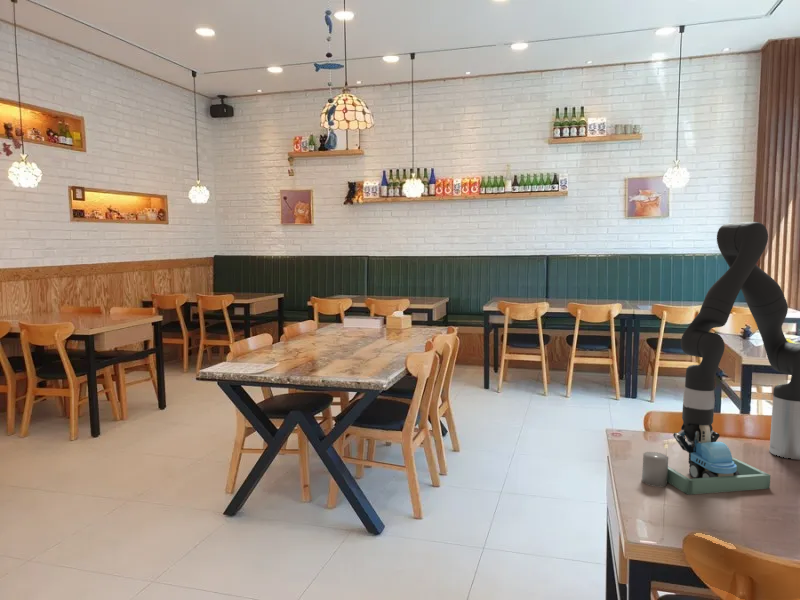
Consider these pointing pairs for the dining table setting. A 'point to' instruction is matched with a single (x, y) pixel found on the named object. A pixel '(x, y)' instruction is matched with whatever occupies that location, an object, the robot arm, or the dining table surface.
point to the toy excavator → (711, 458)
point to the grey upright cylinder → (655, 469)
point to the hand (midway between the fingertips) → (694, 466)
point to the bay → (721, 481)
